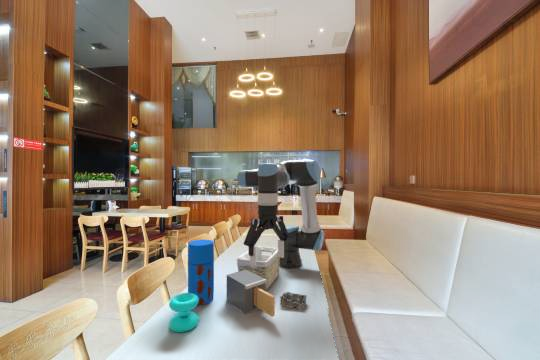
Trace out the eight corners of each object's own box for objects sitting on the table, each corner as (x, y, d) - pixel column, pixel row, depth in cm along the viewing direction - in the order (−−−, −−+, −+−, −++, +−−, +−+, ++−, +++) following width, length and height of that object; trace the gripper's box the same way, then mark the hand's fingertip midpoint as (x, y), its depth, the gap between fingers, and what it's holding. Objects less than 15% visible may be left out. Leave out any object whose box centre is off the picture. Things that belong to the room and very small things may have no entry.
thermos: (191, 294, 115) (191, 239, 115) (215, 293, 116) (215, 239, 116) (185, 306, 104) (185, 246, 104) (211, 305, 105) (211, 245, 105)
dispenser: (226, 300, 109) (226, 274, 109) (245, 293, 115) (245, 269, 115) (246, 315, 98) (246, 286, 97) (266, 306, 104) (266, 279, 104)
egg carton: (278, 306, 105) (278, 296, 105) (284, 298, 112) (284, 289, 112) (303, 311, 101) (303, 301, 101) (308, 302, 108) (307, 293, 108)
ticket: (238, 295, 110) (238, 279, 109) (241, 294, 110) (241, 278, 110) (272, 316, 93) (272, 297, 93) (274, 315, 94) (274, 296, 94)
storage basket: (266, 293, 116) (266, 261, 116) (235, 288, 122) (235, 257, 122) (281, 274, 139) (281, 247, 139) (254, 271, 144) (254, 245, 144)
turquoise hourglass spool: (170, 293, 94) (198, 290, 97) (170, 320, 94) (198, 316, 97) (167, 306, 85) (198, 302, 87) (167, 336, 85) (198, 331, 87)
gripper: (284, 201, 106) (284, 252, 106) (234, 205, 90) (234, 265, 90) (297, 203, 100) (297, 256, 101) (246, 207, 84) (246, 270, 84)
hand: (267, 260), depth 95 cm, fingers open, 13 cm apart
